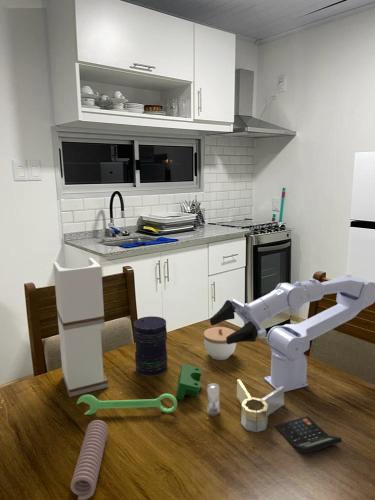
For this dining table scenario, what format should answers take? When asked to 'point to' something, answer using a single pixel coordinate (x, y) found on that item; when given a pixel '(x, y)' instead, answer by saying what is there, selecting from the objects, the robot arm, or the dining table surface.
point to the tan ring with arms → (258, 407)
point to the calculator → (306, 435)
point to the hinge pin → (213, 399)
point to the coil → (89, 460)
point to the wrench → (126, 403)
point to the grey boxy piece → (80, 326)
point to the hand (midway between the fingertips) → (218, 331)
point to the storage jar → (150, 346)
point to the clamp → (188, 381)
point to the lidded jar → (218, 342)
